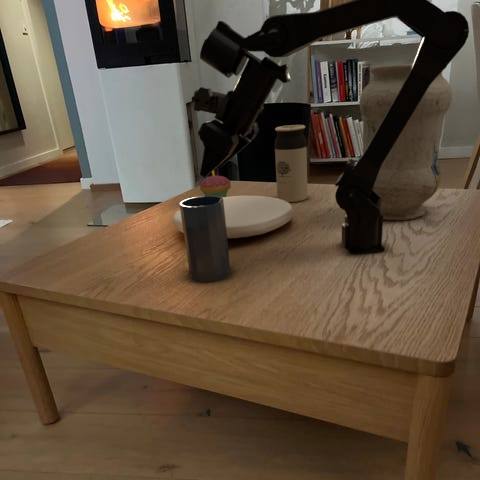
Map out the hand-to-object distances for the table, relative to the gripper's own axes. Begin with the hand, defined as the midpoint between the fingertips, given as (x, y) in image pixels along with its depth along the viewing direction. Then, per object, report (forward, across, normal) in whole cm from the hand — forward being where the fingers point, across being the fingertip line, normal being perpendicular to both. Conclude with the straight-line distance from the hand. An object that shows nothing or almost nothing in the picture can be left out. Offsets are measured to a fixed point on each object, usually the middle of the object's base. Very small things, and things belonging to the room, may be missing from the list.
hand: (210, 170), depth 91 cm
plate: (+12, -12, +9) cm, 19 cm away
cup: (+10, +15, +11) cm, 21 cm away
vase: (-8, -24, +37) cm, 45 cm away
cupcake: (+19, -35, -1) cm, 40 cm away
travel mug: (+8, -37, +16) cm, 41 cm away
